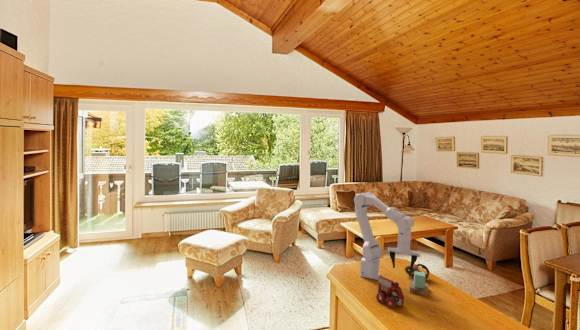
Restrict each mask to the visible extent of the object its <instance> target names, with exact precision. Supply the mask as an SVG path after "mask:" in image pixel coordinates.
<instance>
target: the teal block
mask: <svg viewBox="0 0 580 330" xmlns="http://www.w3.org/2000/svg"><path fill="white" fill-rule="evenodd" d="M425 274H426V273H425V272H424V271H421V272H418V271H414V273H413V281H414V282H413V283H414V287H417V288H423V289H425V283H426V280H425V277H426V276H425Z"/></svg>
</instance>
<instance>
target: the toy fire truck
mask: <svg viewBox="0 0 580 330" xmlns="http://www.w3.org/2000/svg"><path fill="white" fill-rule="evenodd" d="M377 282H378V287H377V294H376V300H377V301H378V303H380V304H383V303H385V302H386V305H387V307H388V308H390V309H394V308H395V307H396V305H398V306H401V307H402V306H403V305H404V302H405V296H404V293H403V290H402V288H401V286H400V285H399V282H397V281H393V280H391V279H390V278H387V277H385V276H383V275H380V276H379V277H378V280H377Z"/></svg>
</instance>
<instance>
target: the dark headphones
mask: <svg viewBox="0 0 580 330" xmlns="http://www.w3.org/2000/svg"><path fill="white" fill-rule="evenodd" d="M419 267H421V269H424V270H425V271H426V273H425V276H426V277H425V281H426V280H428V278H429V275H430V269H429V268H428V267H427V266H426V265H424V264H422V263H416V264H414V265H413V267H412V271H410V265H407V266H406V267H405V269H404V270H405V273H406V274H408V276H409V277H411V276H412V274H414V271H418V272H422V271H421V270H420V269H419Z"/></svg>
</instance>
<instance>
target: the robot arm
mask: <svg viewBox="0 0 580 330" xmlns="http://www.w3.org/2000/svg"><path fill="white" fill-rule="evenodd" d="M353 202H354V212H355V216H356V219H357V223H358V225H359V229H360V232H361V235H362V238H363V242H364V243H363V245H362V247H361V248H362V255H363V257H361V260H360V269H359V270H360V272H359V277H361V278H367V279H370V280H376V281H378V277H380V276H381V273H380V259H381V257H382V256H383V253H384V252H383V249H382V247H381V246H380V243H379V242H378V241H377V240H376V239H375V237H374V234H373V230H372V227H371V224H370V220H369V218H368V214H367V210H368V207H370V206H373V207H374V208H375V207H376V208H377V209H378V210H381V212H383V213H385V217H387V218H388V219H389V220H390V221H392V222H393V223H395V224H396V228H397V229H398V230H397V231H398V234H397V247H389V246H387V251H386V252H387V253H388V254H389V258H390V259H391V263H392V269H395V267H396V254H397V255H405V256H410V257H411V259H410V265H409V266H410V271H412V267H413V266H414V265H415V263H416V262H417V260H418V258H421V256H420V254H421V253H420V252H421V251H416V250H415V251H414V250H411V240H412V228H413V227H414V226H415V221H414V219H413V217H412V216H410V215H406V214H405V213H402V212H401V211H399V210H398V208H397V207H394V206H393V207H392V206H391V207H389V206H388V205H387V204H385V203H384V202H383V201H382V200H381V199H380V198H378V197H377V195H376V194H374V193H372V192H371V191H368V192H362V193H357V194H355V196H354V198H353Z"/></svg>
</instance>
